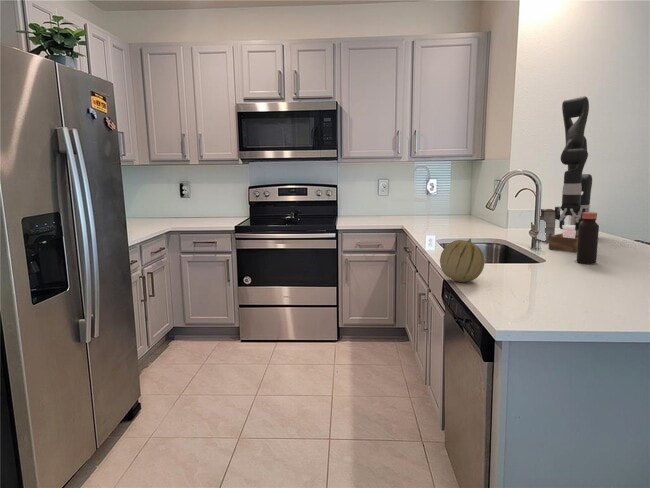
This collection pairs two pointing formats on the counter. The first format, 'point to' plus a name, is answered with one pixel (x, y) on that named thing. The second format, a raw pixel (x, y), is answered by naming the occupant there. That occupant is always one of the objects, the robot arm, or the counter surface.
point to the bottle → (588, 239)
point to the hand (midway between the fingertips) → (569, 229)
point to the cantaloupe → (462, 261)
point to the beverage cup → (569, 230)
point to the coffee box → (548, 222)
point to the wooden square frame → (563, 243)
